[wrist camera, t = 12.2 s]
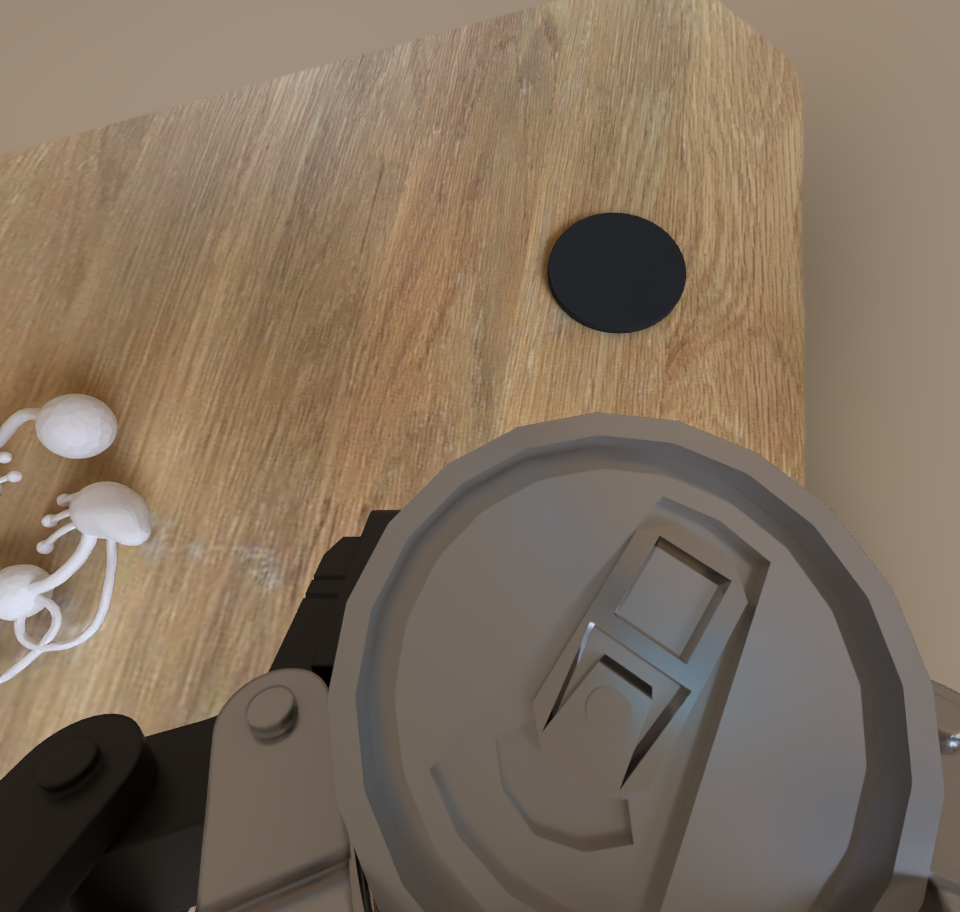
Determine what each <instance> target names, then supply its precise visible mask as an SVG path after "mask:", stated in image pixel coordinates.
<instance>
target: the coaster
mask: <svg viewBox="0 0 960 912" xmlns="http://www.w3.org/2000/svg"><path fill="white" fill-rule="evenodd" d="M685 281H686V267H685V262H684V258H683V256H682V253H681V251H680V249H679V247H678V245H677V244H676V243H675V241H674V240H673V239H672V238H671V237H670V236H669V234H668V233H666V232H665V231H664V230H663V229H662V228H660V227H659V226H657V225H656V224H654V223H652V222H650V221H648V220H646V219H643V218H641V217H638V216H634V215H630V214H623V213H604V214H599V215H594V216H591V217H587V218H585V219H583V220H580V221H579V222H577V223H575V224H573V225H572V226H571V227H569V228H568V229H567V230H566V231H565V232H564V233H563V234H562V235H561V236H560V237H559V239H558V240H557V241H556V243H555V245H554V247H553V249H552V251H551V254H550V258H549V263H548V282H549V286H550V289H551V292H552V294H553V296H554V298H555V300H556V301H557V303H558V304H559V306H560V307H561V308H562V309H563V310H564V311H565V312H566V313H567V314H568V315H569V316H570V317H572V318H573V319H574V320H576V321H577V322H579V323H581V324H583V325H584V326H587V327H589V328H592V329H595V330H598V331H602V332H609V333H630V332H635V331H639V330H642V329H645V328H648V327H650V326H652V325H654V324H656V323H658V322H659V321H661V320H662V319H663V318H665V317H666V316H667V315H668V314H669V313H670V312H671V311H672V310H673V308H674V307H675V305H676V304H677V302H678V301H679V299H680V297H681V295H682V292H683V290H684V286H685Z"/></svg>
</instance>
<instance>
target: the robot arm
mask: <svg viewBox="0 0 960 912" xmlns="http://www.w3.org/2000/svg"><path fill="white" fill-rule="evenodd" d="M400 511H401V510H372V511H371V513H370V515H369V517H368V520H367V522H366V525H365V527H364V530H363V533H362V535H361V537H343V538H342V539H340V540H339V541H338V542H337V543H336V544H335V545H334V546H333V547H332V548H331V549H330V550H329V551H327V552H326V553H325V554H324V556H323V558H322V560H321V562H320V564H319V566H318V568H317V571H316V573H315V575H314V580H312V581H311V583H310V585H309V587H308V590H307V592H306V597H305V598H303V600H302V602H301V604H300V607H299V609H298V611H297V613H296V615H295V617H294V619H293V621H292V624H291V626H290V628H289V630H288V632H287V634H286V636H285V638H284V641H283V643H282V645H281V647H280V649H279V651H278V653H277V655H276V657H275V660H274V662H273V664H272V666H271V668H270V670H269V672H268V673H265V674H263V675H261V676H259V677H257V678H255V679H253V680H251V681H250V682H248V683H247V684H245V685H244V686H243V687H241V688H240V689H239V690H238V691H236V692H235V693H234V694H233V695H232V696H231V698H230V699H229V700H228V701H227V702H226V704H225V705H224V706H223V708H222V709H221V711H220V713H219V715H217V716H215V717H212V718H209V719H206V720H203V721H200V722H197V723H193V724H189V725H186V726H182V727H179V728H175V729H172V730H168V731H164V732H161V733H157V734H154V735H150V736H147V737H145V736H144V735H143V733H142V731H141V729H140V727H139V726H138V724H137V723H136V722H135V721H134V720H133V719H131V718H130V717H127V716H124V715H120V714H103V715H97V716H93V717H89V718H86V719H83V720H80V721H78V722H76V723H73V724H71V725H69V726H67V727H65V728H63V729H61V730H59V731H58V732H56V733H55V734H53V735H51V736H50V737H48V738H47V739H45V740H44V741H43V742H42V743H40V744H39V745H38V746H36V747H35V748H34V749H33V750H32V751H31V752H29V753H28V754H27V755H26V756H25V757H24V758H23V759H22V760H21V761H20V762H19V763H18V764H17V765H16V766H15V767H14V768H13V769H12V770H11V771H10V772H9V773H8V774H7V775H6V776H4V777H3V778H2V779H1V780H0V912H188V911H189V909H190V908H191V907H193V906H196V910H195V912H375V911H374V904H373V898H372V892H371V890H370V887H369V885H368V882H367V880H366V877H365V874H364V872H363V869H362V867H361V864H360V861H359V859H358V856H357V854H356V851H355V849H354V846H353V843H352V841H351V838H350V836H349V833H348V831H347V828H346V825H345V823H344V820H343V818H342V815H341V812H340V810H339V807H338V805H337V802H336V792H335V780H334V768H333V756H332V744H331V733H330V721H329V709H328V692H329V687H330V682H331V677H332V672H333V667H334V662H335V657H336V652H337V647H338V642H339V637H340V632H341V627H342V622H343V617H344V612H345V607H346V602H347V600H348V599H349V597H350V595H351V593H352V591H353V589H354V587H355V585H356V583H357V582H358V580H359V578H360V576H361V574H362V572H363V570H364V568H365V566H366V565H367V563H368V561H369V559H370V557H371V555H372V553H373V551H374V549H375V548H376V546H377V544H378V542H379V540H380V538H381V536H382V534H383V532H384V531H385V529H386V527H387V525H388V523H389V522H390V521H391V520H392V519H393V518H394V517H395V516H396V515H397V514H398V513H399V512H400ZM931 682H932V685H933V692H934V701H935V710H936V719H937V728H938V737H939V746H940V755H941V764H942V772H943V781H944V790H945V796H944V801H943V806H942V811H941V816H940V821H939V826H938V831H937V836H936V841H935V846H934V851H933V856H932V861H931V866H930V871H929V876H928V881H927V886H926V891H925V896H924V901H923V904H922V906H921V908H920V909H919V911H918V912H960V693H958V692H956V691H954V690H952V689H950V688H948V687H946V686H945V685H942V684H940V683H937V682H935V681H933V680H931Z"/></svg>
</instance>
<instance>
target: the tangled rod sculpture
mask: <svg viewBox="0 0 960 912" xmlns="http://www.w3.org/2000/svg"><path fill="white" fill-rule="evenodd" d="M28 420H36V421H35V427H36V433H37V436H38V438H39V440H40V441H41V443H42V444H43V445H44V446H45V447H46V448H48V449H49V450H50V451H52V452H54V453H56V454H58V455H60V456H63V457H67V458H72V459H82V458H89V457H92V456H95V455H98V454H99V453H101V452H103V451H104V450H105V449H107V448H108V447H109V446H110V445H111V444H112V442H113V441H114V439H115V436H116V433H117V430H118V429H117V421H116V417H115V415H114V414H113V412H112V410H111V409H110V408H109V407H108V406H107V405H106V404H105V403H103V402H102V401H100V400H98V399H96V398H94V397H92V396H88V395H84V394H66V395H62V396H58V397H56V398H54V399H52V400H50V401H49V402H47V403H46V404H44V405H43V407H42V408H41V409H38V408H25V409H20V410H18V411H17V412H15V413H14V414H12V415H11V416H10V417H9V418H8V419H7V420H6V421H5V422H4V424H3V425H2V426H1V427H0V448H1V447H2V446H3V445H4V444H5V443H6V442H7V441H8V440H9V439H10V438H11V437H12V436H13V434H14V433H15V432H16V431H17V430H18V428H19V427H20V426H21V425H22V424H23V423H24V422H26V421H28ZM11 460H12V455H11V454H10V453H9V452H0V463H5V464H6V463H8V462H10V461H11ZM21 479H22V474H21V473H20V472H18V471H10V472H9V473H8V474H7V475H6V476H3V477H1V478H0V495H1V493H2V488H3V485H2V483H3V482H6V481H10V482H13V483H15V482H19V481H20V480H21ZM56 502H57V504H59V505H60V506H62V507H66V506H69V509H68V510H65V511H63V512H61V513H59V514H56V515H53V514H48V515H45V516H44V517H43V518H42V520H41V523H42V525H43V526H45V527H49V528H51V527H54V526H56V525H57V524H58V521H60V520H61V519H63V518H65V517H68V516H70V519H71V520H72V523H69V524H67V525H65V526H63V527H61V528H60V529H58V530H57V531H56V532H54V533H53V534H51V535H50V536H49V537H48V538H47V539H46V540H44V541H41V542H39V543H38V544H37V547H36V550H37V551H38V552H39V553H41V554H48V553H50V552H51V551H52V550H54V544H53V543H54V542H55V541H56V540H57V538H59V537H60V536H62V535H63V534H65V533H66V532H68V531H70V530H72V529H75V528H77V529H78V530H79V531H80V532H81V533H82V535H81V540H80V543H79V545H78V546H77V548H76V549H75V551H74V552H73V554H72V555H71V557H70V559H68V560H67V561H66V562H65V563H64V564H63V565H62V566H61V567H60V568H59V569H57V570H56V571H55V572H54V573H53V574H51V575H49V574H48V573H47V572H46V571H45V570H43V569H41V568H39V567H37V566H35V565H30V564H22V565H14V566H9V567H6V568H4V569H2V570H0V619H3V620H9V621H10V620H15V622H14V632H15V634H16V637H17V640H18V641H19V642H20V643H21V644H22V645H23V646H24V647H26V648H28V649H30V650H31V651H30V652H29V653H28V654H27V655H25V656H24V657H23V658H22V659H21V660H19V661H18V662H17V663H16V664H15V665H13V666H12V667H11V668H9V669H8V670H7V671H6V672H4V673H2V674H0V683H3V682H5V681H7V680H9V679H11V678H12V677H14V676H15V675H16V674H17V673H19V672H20V671H21V670H22V669H24V668H25V667H26V666H27V665H29V664H30V663H31V662H32V661H33V660H34V659H36V658H37V657H38V656H39V655H40V654H41V653H42V652H48V651H56V650H63V649H68V648H71V647H74V646H76V645H78V644H80V643H82V642H84V641H85V640H87V639H88V638H89V637H90V636H92V635H93V634H94V633H95V632H96V631H97V630H98V628H99V627H100V626H101V625H102V623H103V621H104V618H105V616H106V614H107V612H108V609H109V604H110V600H111V596H112V592H113V587H114V580H115V574H116V567H117V543H116V542H118V543H120V544H122V545H126V546H138V545H140V544H142V543H143V542H144V541H146V540H147V539H148V538H149V537H150V535H151V526H152V525H151V518H150V514H149V510H148V507H147V504H146V502H145V500H144V499H143V498H142V497H141V496H140V495H138V494H137V493H136V492H134V491H133V490H131V489H130V488H129V487H127V486H125V485H122V484H120V483H116V482H106V481H104V482H97V483H94V484H91V485H88V486H86V487H84V488H83V489H82V490H80V491H79V492H77V493H73V494H71V495H69V494H61V495H59V496H58V497H57V500H56ZM97 538H102V539H106V550H107V566H106V572H105V578H104V584H103V590H102V594H101V598H100V602H99V607H98V611H97V613H96V615H95V617H94V619H93V621H92V623H91V624H90V625H89V626H88V627H87V628H86V630H85V631H84V632H82V633H81V634H79V635H77V636H75V637H73V638H71V639H68V640H65V641H61V642H55V643H52V641H53V640H54V638H55V637H56V635H57V634H58V632H59V630H60V628H61V626H62V621H63V614H62V611H61V608H60V607H59V606H58V605H57V604H56V603H55V602H54V601H53V600H51V598H52V596H53V592H54V588H55V587H57V586H59V585H60V584H62V583H64V582H65V581H66V580H67V579H69V578H70V577H71V576H72V575H73V574H74V573H75V572H76V571H77V570H78V569H79V568H80V567H81V566H82V565H83V564H84V563H85V561H86V560H87V558H88V556H89V555H90V553H91V552H92V550H93V548H94V547H95V545H96V542H97ZM44 607H46V608H47V609H48V610H49V611H50V613H51V616H52V622H51V627H50V628H49V630H48V631H47V632H46V634H45V635H44V637H43V638H42V640H41V641H40V642H37V641H35V640H33V639H32V638H31V637H30V636H29V635H28V634H27V633H26V626H25V620H26V618H28V617H30V616H33V615H35V614H37V613H38V612H39V611H41V610H42V609H43V608H44Z"/></svg>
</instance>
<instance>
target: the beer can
mask: <svg viewBox="0 0 960 912" xmlns="http://www.w3.org/2000/svg"><path fill="white" fill-rule="evenodd" d="M328 709H329V721H330V733H331V744H332V756H333V768H334V780H335V792H336V802H337V805H338V807H339V810H340V812H341V815H342V818H343V820H344V823H345V825H346V828H347V831H348V833H349V836H350V838H351V841H352V843H353V846H354V849H355V851H356V854H357V856H358V859H359V861H360V864H361V867H362V869H363V872H364V874H365V877H366V880H367V882H368V885H369V887H370V890H371V892H372V895H373V898H374V900H375V903H376V905H377V907H378V909H379V910H380V911H381V912H918V911H919V909H920V908H921V906H922V904H923V901H924V896H925V891H926V886H927V881H928V876H929V871H930V866H931V861H932V856H933V851H934V846H935V841H936V836H937V831H938V826H939V821H940V816H941V811H942V806H943V801H944V796H945V790H944V781H943V772H942V764H941V755H940V746H939V737H938V728H937V719H936V710H935V701H934V692H933V685H932V682H931V680H930V677H929V675H928V673H927V670H926V668H925V665H924V663H923V661H922V658H921V656H920V653H919V651H918V648H917V646H916V643H915V641H914V639H913V636H912V634H911V631H910V629H909V627H908V624H907V622H906V619H905V617H904V614H903V612H902V610H901V607H900V605H899V603H898V600H897V598H896V595H895V593H894V590H893V588H892V587H891V585H890V584H889V583H888V581H887V580H886V579H885V578H884V576H883V575H882V574H881V573H880V571H879V570H878V569H877V567H876V566H875V565H874V563H873V562H872V561H871V560H870V559H869V557H868V556H867V554H866V553H865V552H864V550H863V549H862V548H861V546H860V545H859V544H858V543H857V541H856V540H855V539H854V538H853V536H852V535H851V534H850V532H849V531H848V530H847V528H846V527H845V526H844V524H843V523H842V522H841V521H840V520H839V518H838V517H837V515H836V514H835V513H834V512H833V510H832V509H831V508H829V507H828V506H827V505H825V504H824V503H823V502H822V501H820V500H819V499H818V498H816V497H815V496H814V495H812V494H811V493H810V492H808V491H807V490H806V489H804V488H803V487H802V486H801V485H799V484H798V483H797V482H795V481H794V480H793V479H791V478H790V477H789V476H787V475H786V474H785V473H784V472H782V471H781V470H780V469H778V468H777V467H776V466H774V465H773V464H772V463H770V462H769V461H768V460H766V459H765V458H764V457H763V456H761V455H760V454H759V453H756V452H754V451H751V450H749V449H746V448H744V447H741V446H739V445H736V444H734V443H732V442H729V441H727V440H724V439H722V438H719V437H717V436H714V435H712V434H709V433H707V432H704V431H702V430H699V429H697V428H695V427H692V426H690V425H687V424H685V423H682V422H680V421H674V420H665V419H655V418H646V417H637V416H627V415H618V414H608V413H599V412H595V413H590V414H585V415H579V416H574V417H569V418H563V419H558V420H553V421H547V422H542V423H537V424H531V425H526V426H521V427H517V428H515V429H513V430H511V431H510V432H508V433H506V434H504V435H502V436H500V437H498V438H496V439H494V440H492V441H491V442H489V443H487V444H485V445H483V446H481V447H479V448H477V449H475V450H473V451H472V452H470V453H468V454H466V455H464V456H462V457H460V458H458V459H456V460H454V461H453V462H451V463H449V464H447V465H446V466H445V467H444V468H443V469H442V470H441V471H440V472H439V473H438V474H437V475H436V476H435V477H434V478H433V479H432V480H431V481H430V482H429V483H428V484H427V485H426V486H425V487H424V488H423V489H422V490H421V491H420V492H419V493H418V494H417V495H416V496H415V497H414V498H413V499H412V500H411V501H410V502H409V503H408V504H407V505H406V506H405V507H404V508H403V509H402V510H401V511H400V512H399V513H398V514H397V515H396V516H395V517H394V518H393V519H392V520H391V521H390V522H389V523H388V525H387V527H386V529H385V531H384V532H383V534H382V536H381V538H380V540H379V542H378V544H377V546H376V548H375V549H374V551H373V553H372V555H371V557H370V559H369V561H368V563H367V565H366V566H365V568H364V570H363V572H362V574H361V576H360V578H359V580H358V582H357V583H356V585H355V587H354V589H353V591H352V593H351V595H350V597H349V599H348V600H347V602H346V607H345V612H344V617H343V622H342V627H341V632H340V637H339V642H338V647H337V652H336V657H335V662H334V667H333V672H332V677H331V682H330V687H329V692H328Z"/></svg>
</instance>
